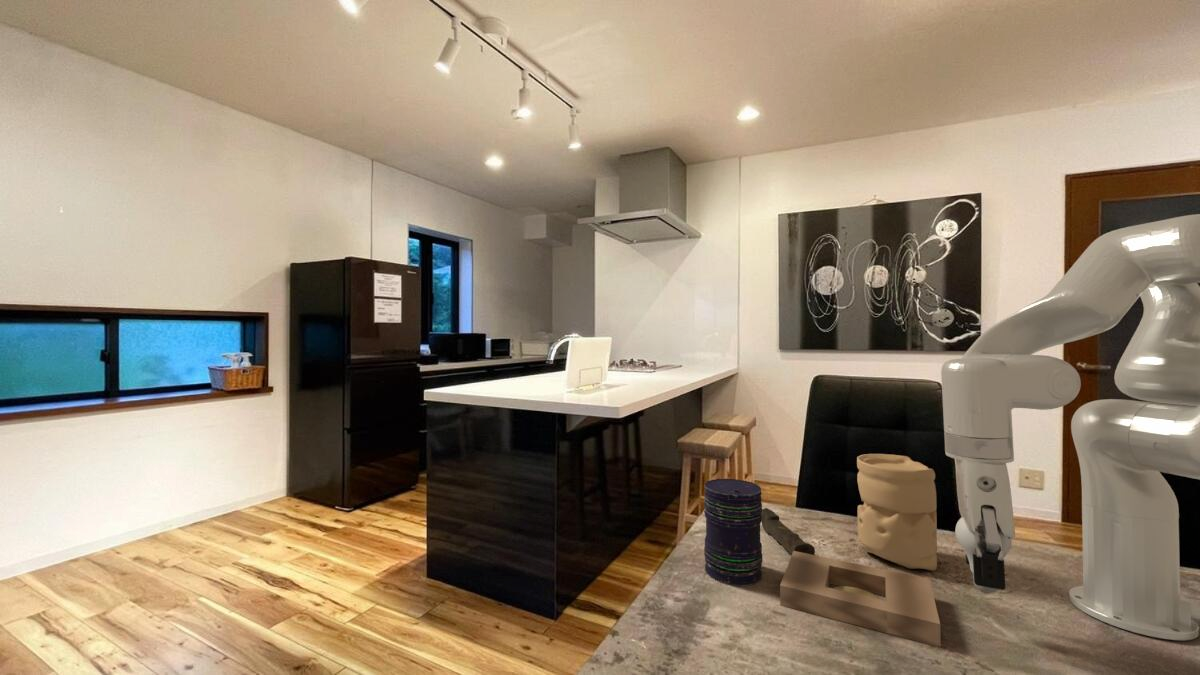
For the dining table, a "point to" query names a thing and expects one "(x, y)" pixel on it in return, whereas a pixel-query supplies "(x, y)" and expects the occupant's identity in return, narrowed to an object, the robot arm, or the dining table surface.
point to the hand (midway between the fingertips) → (984, 574)
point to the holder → (862, 596)
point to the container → (897, 510)
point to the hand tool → (784, 533)
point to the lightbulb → (968, 546)
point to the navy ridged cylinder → (733, 531)
